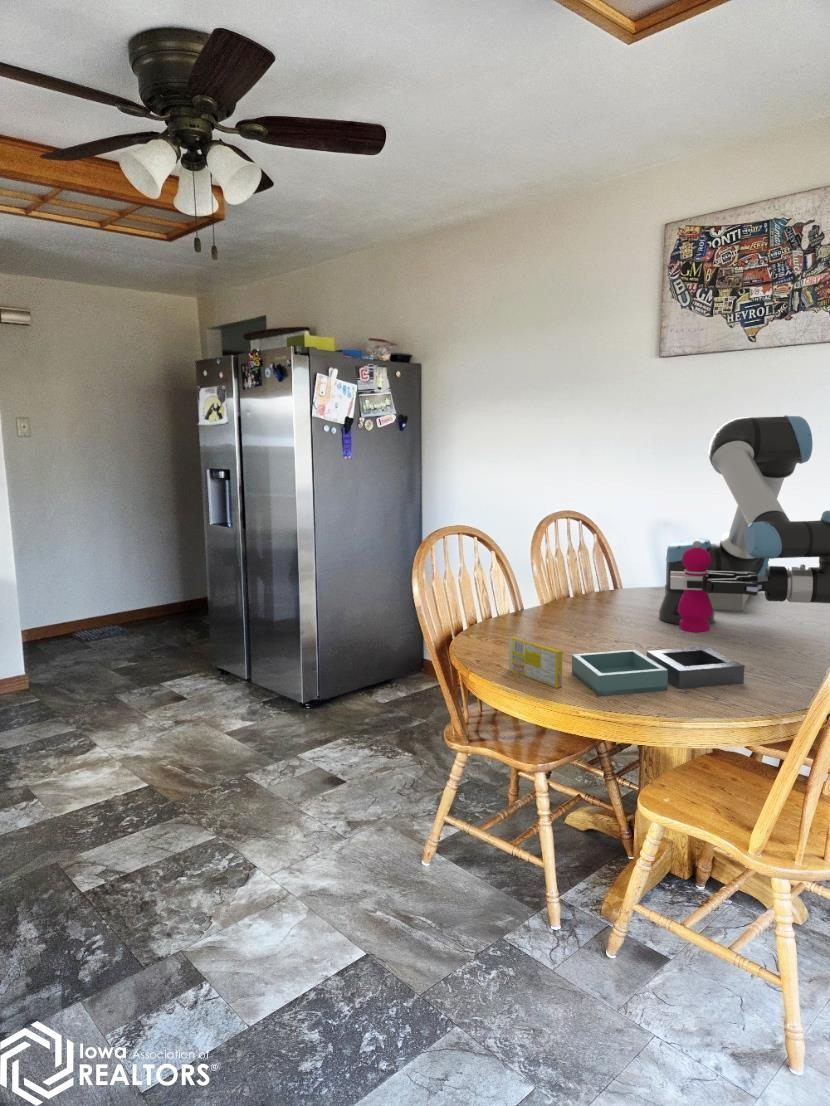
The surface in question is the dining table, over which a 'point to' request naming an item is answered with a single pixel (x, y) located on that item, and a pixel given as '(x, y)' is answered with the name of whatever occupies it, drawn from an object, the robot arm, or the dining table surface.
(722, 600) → the box
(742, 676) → the bore block
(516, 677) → the dining table surface
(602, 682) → the tray
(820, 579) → the robot arm
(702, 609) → the pepper mill
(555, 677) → the candy box
